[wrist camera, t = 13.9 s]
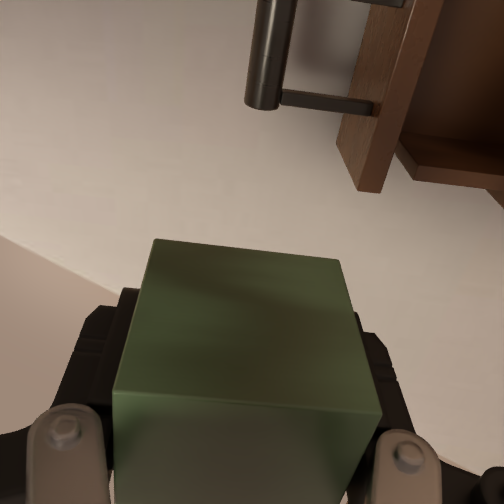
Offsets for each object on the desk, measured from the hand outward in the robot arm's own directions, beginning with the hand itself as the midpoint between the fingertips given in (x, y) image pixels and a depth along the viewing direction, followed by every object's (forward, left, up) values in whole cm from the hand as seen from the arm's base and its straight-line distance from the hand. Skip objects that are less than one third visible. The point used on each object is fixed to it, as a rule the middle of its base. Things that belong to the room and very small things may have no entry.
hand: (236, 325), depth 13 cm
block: (0, 0, 0) cm, 0 cm away
